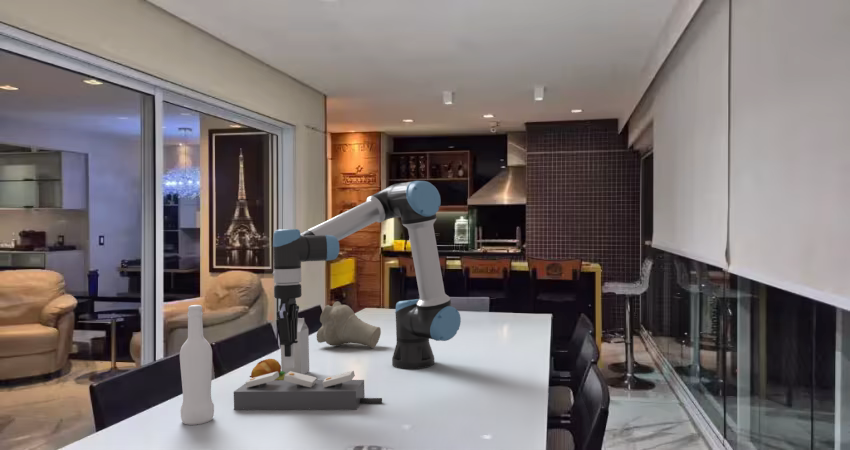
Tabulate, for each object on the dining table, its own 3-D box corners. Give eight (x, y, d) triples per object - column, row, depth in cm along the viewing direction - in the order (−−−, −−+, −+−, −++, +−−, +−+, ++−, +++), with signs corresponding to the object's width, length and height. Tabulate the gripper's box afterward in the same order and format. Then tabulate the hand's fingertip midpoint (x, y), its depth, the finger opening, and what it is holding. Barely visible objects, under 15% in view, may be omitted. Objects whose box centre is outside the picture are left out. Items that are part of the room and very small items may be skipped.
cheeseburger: (294, 383, 189) (289, 354, 187) (275, 400, 179) (270, 370, 177) (266, 381, 192) (261, 352, 190) (247, 398, 182) (242, 368, 180)
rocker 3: (354, 375, 169) (353, 370, 169) (351, 380, 164) (349, 374, 164) (328, 382, 169) (326, 377, 169) (323, 387, 164) (322, 381, 164)
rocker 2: (315, 382, 170) (317, 377, 170) (311, 387, 165) (312, 381, 165) (289, 376, 170) (290, 370, 170) (283, 380, 165) (284, 374, 165)
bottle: (186, 416, 158) (183, 303, 158) (217, 414, 159) (215, 302, 159) (176, 426, 150) (173, 307, 150) (209, 424, 151) (206, 306, 151)
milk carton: (301, 376, 198) (299, 319, 198) (281, 376, 199) (280, 319, 200) (309, 371, 205) (308, 316, 205) (290, 371, 206) (288, 316, 206)
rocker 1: (279, 376, 170) (277, 370, 170) (273, 380, 165) (271, 374, 165) (253, 383, 171) (251, 377, 171) (246, 387, 166) (245, 382, 166)
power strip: (385, 397, 171) (384, 376, 171) (378, 409, 159) (377, 388, 159) (250, 397, 175) (250, 377, 175) (234, 409, 163) (233, 388, 163)
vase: (400, 313, 251) (343, 295, 261) (381, 311, 231) (319, 293, 240) (387, 363, 249) (329, 344, 259) (366, 366, 229) (305, 345, 239)
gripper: (282, 281, 175) (283, 362, 174) (266, 286, 162) (268, 372, 161) (307, 281, 174) (308, 362, 174) (293, 285, 161) (295, 372, 161)
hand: (289, 367), depth 168 cm, fingers closed
